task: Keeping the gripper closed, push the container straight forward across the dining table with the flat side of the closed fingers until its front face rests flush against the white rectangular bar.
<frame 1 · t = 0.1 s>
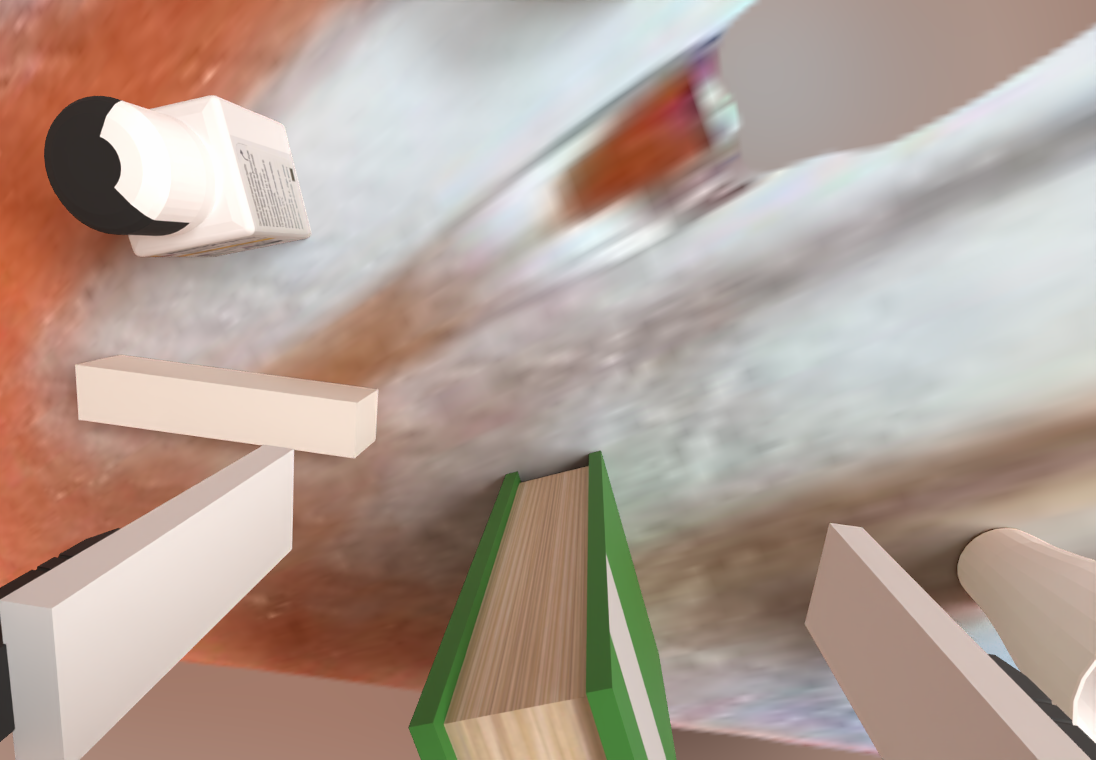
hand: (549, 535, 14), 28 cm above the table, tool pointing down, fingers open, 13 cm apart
hardback book: (584, 565, 45), on the table
container: (250, 192, 41), on the table
white rectangular bar: (248, 397, 44), on the table
cup: (997, 563, 43), on the table
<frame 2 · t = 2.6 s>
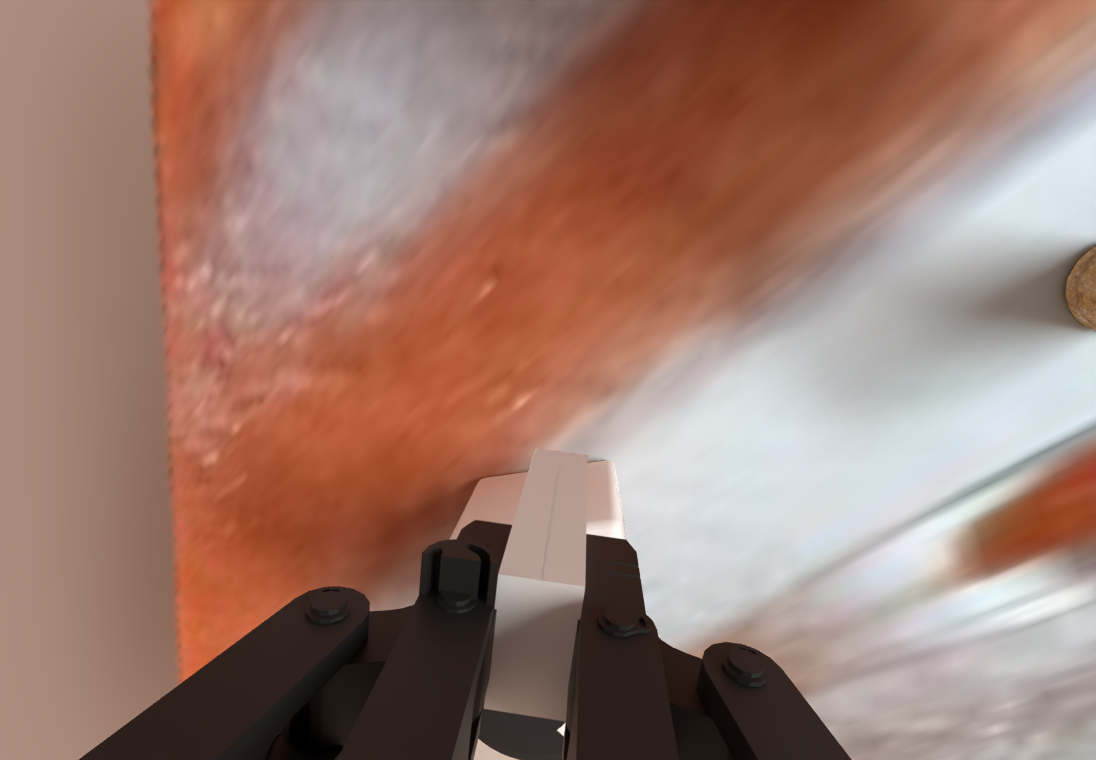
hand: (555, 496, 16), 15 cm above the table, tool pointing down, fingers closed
container: (557, 528, 33), on the table
white rectangular bar: (528, 747, 36), on the table
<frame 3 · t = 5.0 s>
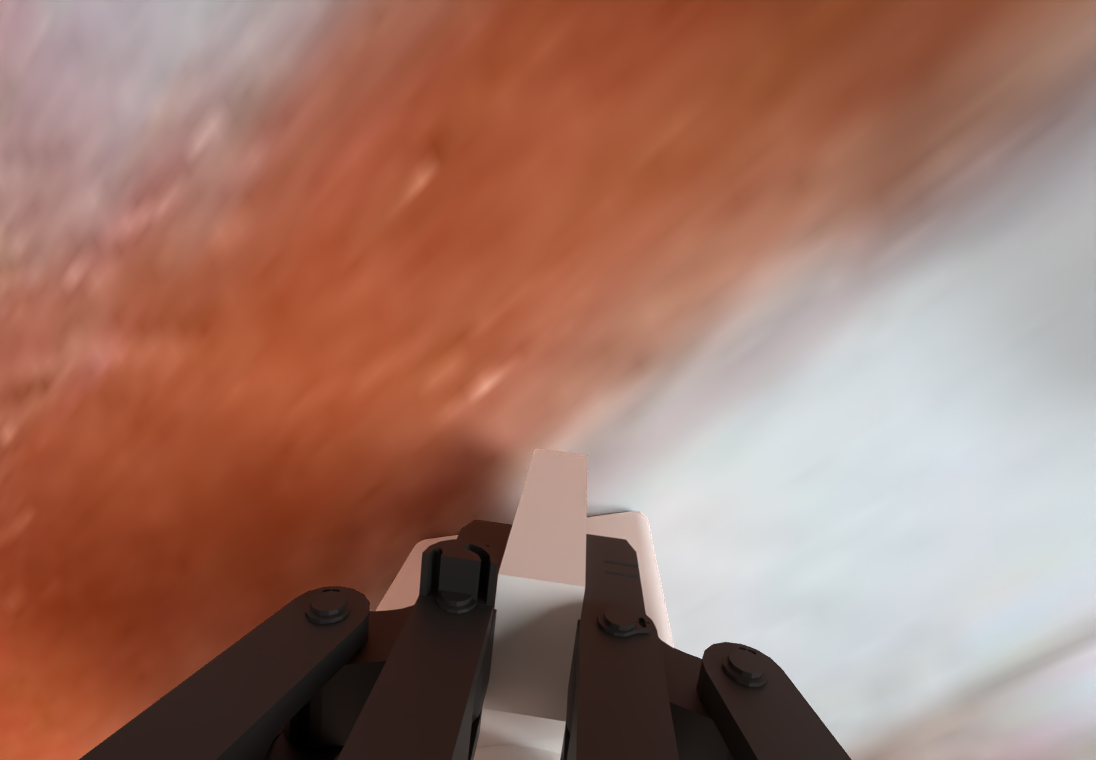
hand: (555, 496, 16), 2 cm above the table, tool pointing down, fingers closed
container: (549, 621, 20), on the table, touching gripper
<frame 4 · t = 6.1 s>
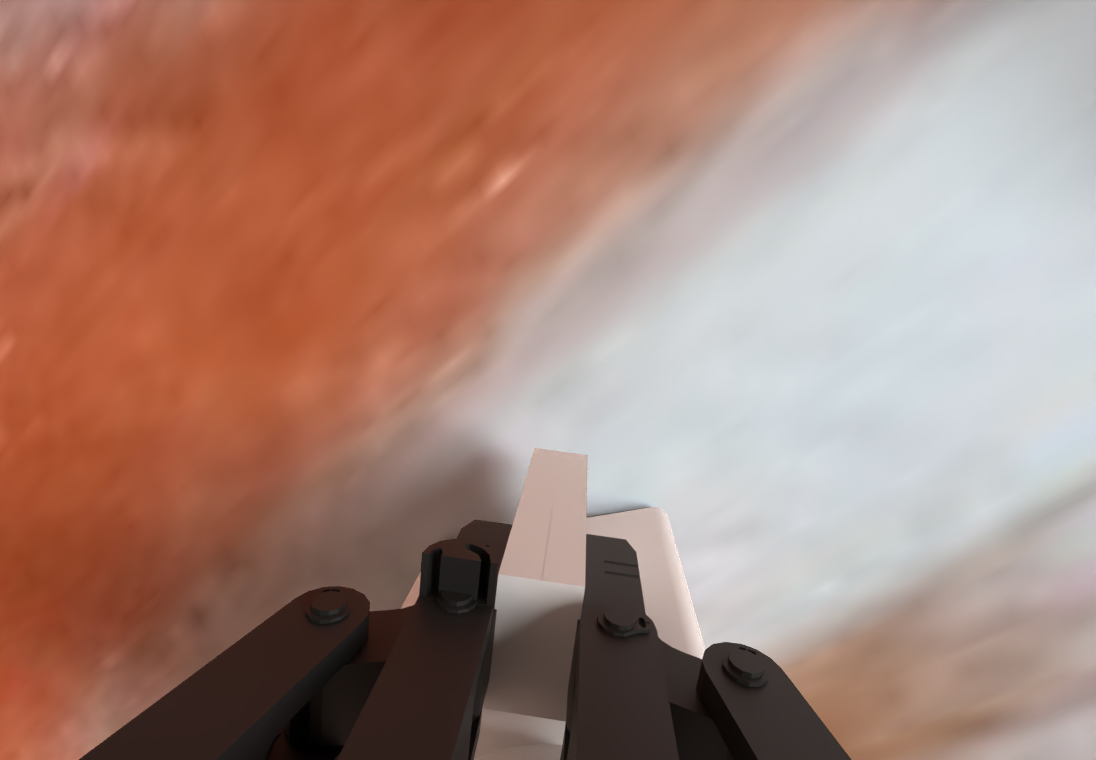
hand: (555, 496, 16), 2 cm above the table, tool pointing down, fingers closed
container: (570, 620, 20), on the table, touching gripper
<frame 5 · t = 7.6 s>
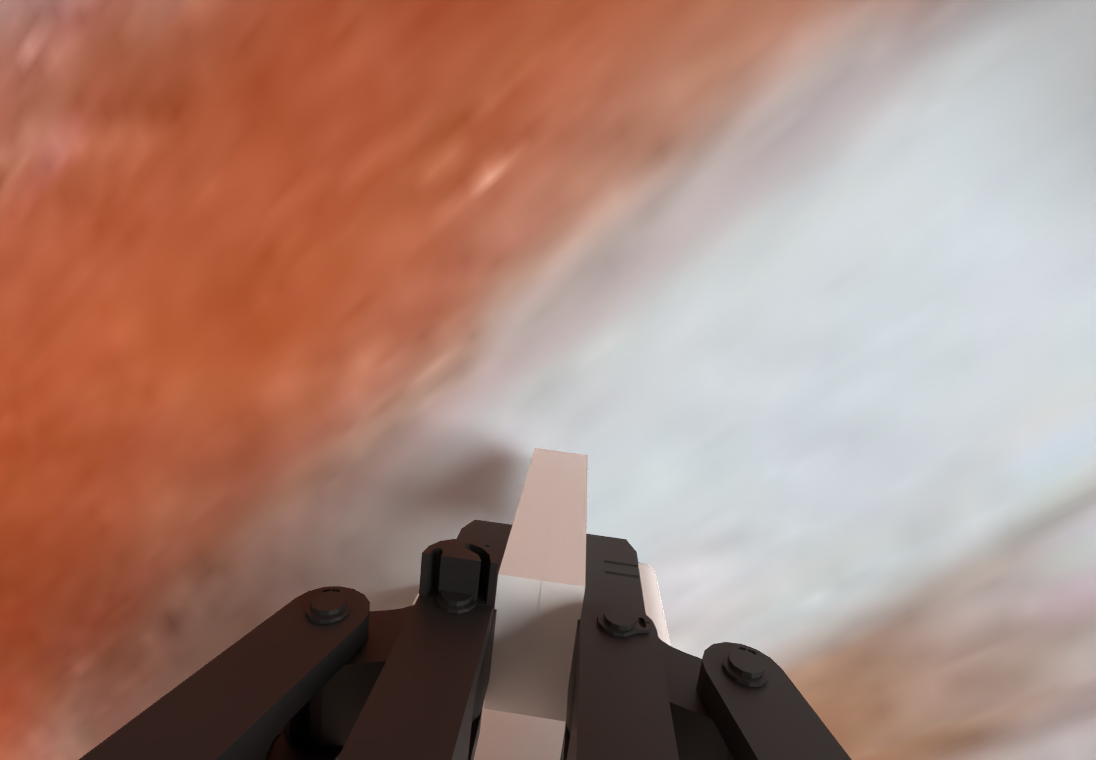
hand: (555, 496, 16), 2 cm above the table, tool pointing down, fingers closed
container: (552, 670, 20), on the table
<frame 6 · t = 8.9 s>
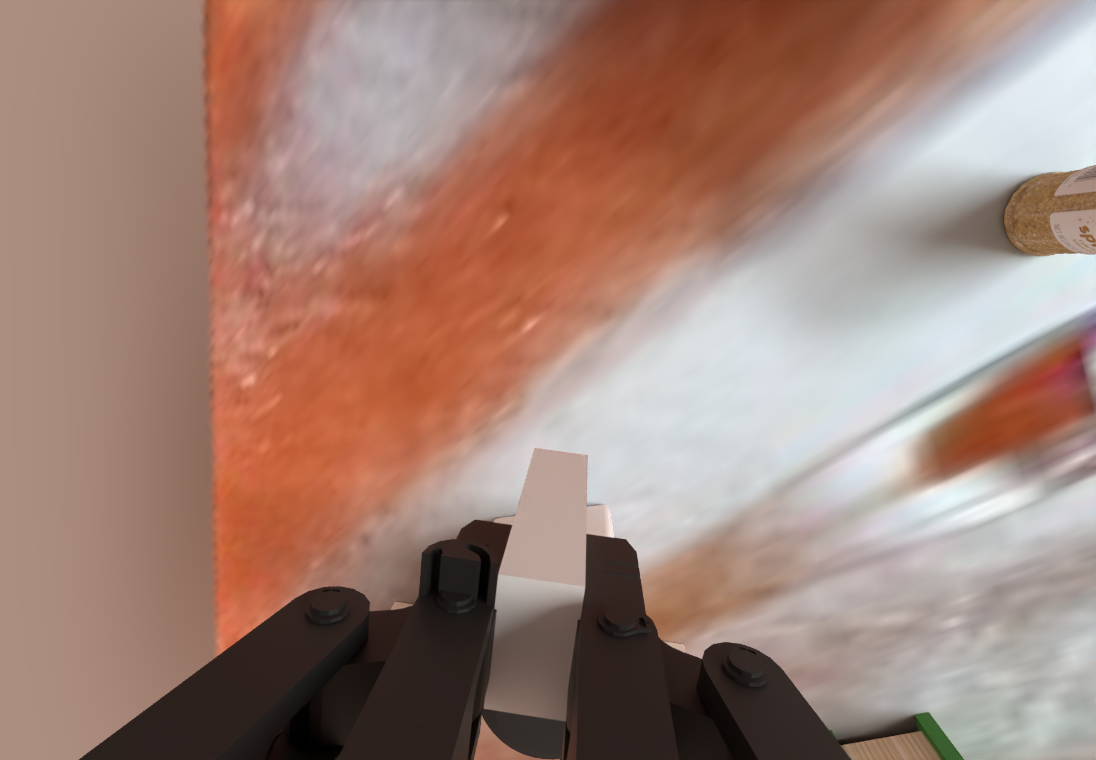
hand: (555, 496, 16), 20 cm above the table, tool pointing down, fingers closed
sprinkles bottle: (1041, 214, 32), on the table
container: (559, 561, 39), on the table
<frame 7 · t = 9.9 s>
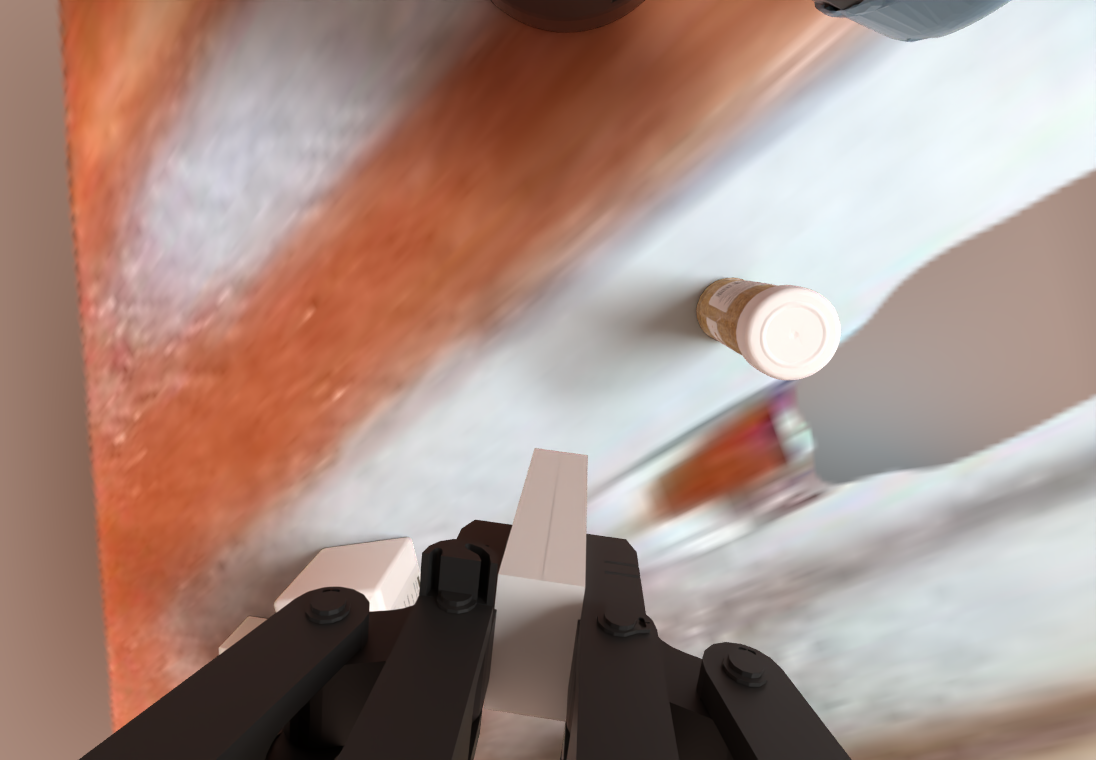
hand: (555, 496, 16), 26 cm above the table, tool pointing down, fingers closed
sprinkles bottle: (728, 308, 41), on the table
container: (378, 582, 48), on the table
white rectangular bar: (363, 653, 49), on the table
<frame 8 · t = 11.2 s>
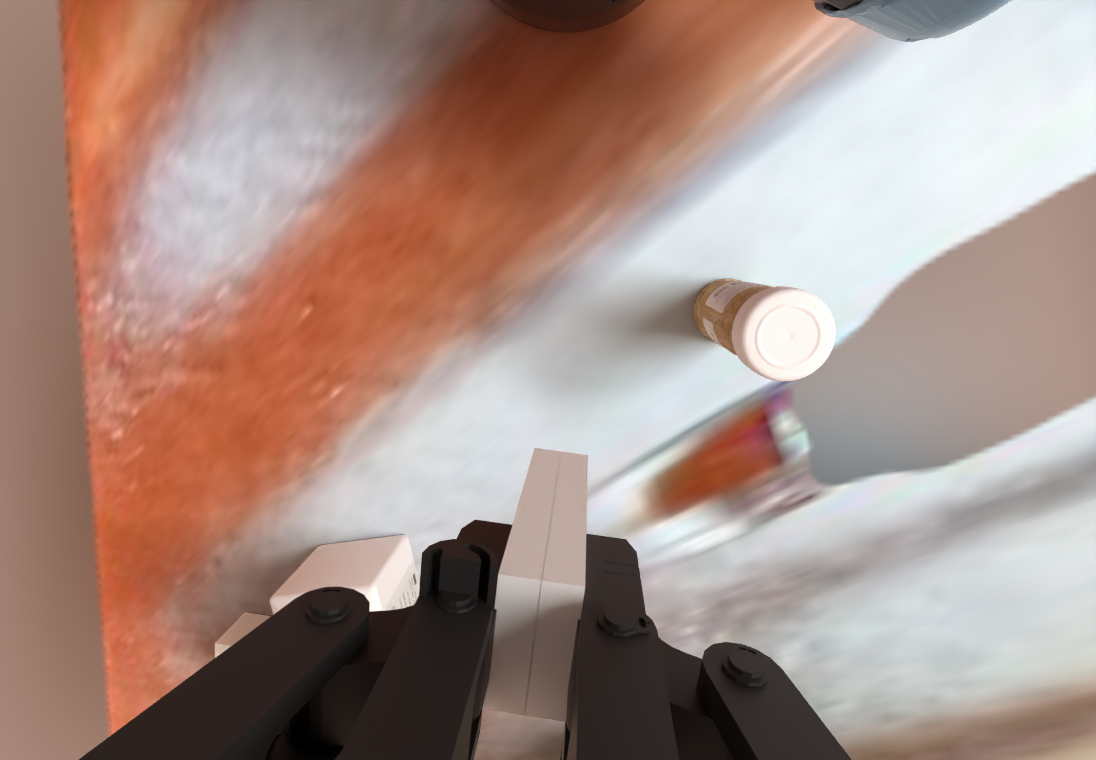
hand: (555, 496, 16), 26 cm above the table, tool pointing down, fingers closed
sprinkles bottle: (725, 309, 41), on the table
container: (374, 579, 48), on the table
white rectangular bar: (359, 650, 49), on the table
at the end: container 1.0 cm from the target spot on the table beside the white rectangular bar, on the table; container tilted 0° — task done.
